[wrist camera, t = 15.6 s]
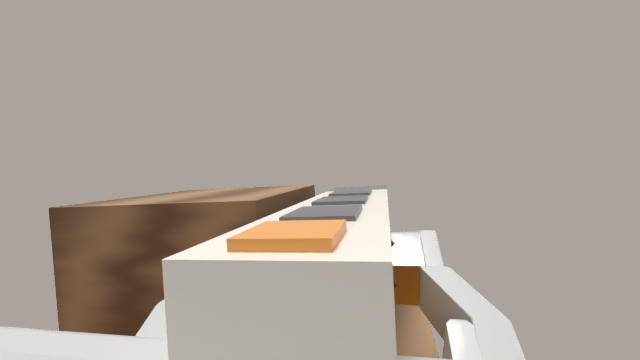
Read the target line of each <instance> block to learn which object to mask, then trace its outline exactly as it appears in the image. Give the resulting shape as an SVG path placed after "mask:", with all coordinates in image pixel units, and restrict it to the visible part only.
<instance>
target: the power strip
mask: <svg viewBox="0 0 640 360" xmlns="http://www.w3.org/2000/svg"><path fill="white" fill-rule="evenodd" d="M162 271H163V286H164V301H165V315H166V330H167V345H168V360H397V349H396V327H395V305H394V284H393V262H392V249H391V236H390V225H389V212H388V198H387V186H368V187H346V188H345V187H344V188H335V189H332V190H330V191H327V192H325V193H322V194H320V195H317V196H315V197H313V198H310V199H308V200H305V201H303V202H300V203H298V204H296V205H293V206H291V207H288V208H286V209H283V210H281V211H279V212H276V213H274V214H271V215H269V216H266V217H264V218H262V219H259V220H257V221H254V222H252V223H249V224H247V225H245V226H242V227H240V228H237V229H235V230H232V231H230V232H228V233H225V234H223V235H220V236H218V237H215V238H213V239H211V240H208V241H206V242H203V243H201V244H198V245H196V246H194V247H191V248H189V249H186V250H184V251H181V252H179V253H177V254H174V255H172V256H169V257H167V258H164V259H162Z"/></svg>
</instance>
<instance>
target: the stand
mask: <svg viewBox="0 0 640 360" xmlns="http://www.w3.org/2000/svg"><path fill="white" fill-rule="evenodd" d="M314 190H315V189H314V185H302V186H281V187H280V186H279V187H256V188H234V189H212V190H191V191H180V192H173V193H165V194H156V195H148V196H140V197H132V198H125V199H116V200H108V201H100V202H92V203H84V204H76V205H68V206H59V207H51V208H49V216H50V228H51V240H52V252H53V263H54V275H55V286H56V298H57V310H58V321H59V331H71V332H85V333H98V334H112V335H126V336H136V334H137V333H138V331H139V330H140V328H141V327H142V325H143V324H144V322H145V321H146V320H147V318H148V317H149V315H150V314H151V312H152V311H153V309H154V308H155V306H156V305H157V304H158V303H159V302H161V301H162V300H164V286H163V271H162V259H164V258H167V257H169V256H172V255H174V254H177V253H179V252H181V251H184V250H186V249H189V248H191V247H194V246H196V245H198V244H201V243H203V242H206V241H208V240H211V239H213V238H215V237H218V236H220V235H223V234H225V233H228V232H230V231H232V230H235V229H237V228H240V227H242V226H245V225H247V224H249V223H252V222H254V221H257V220H259V219H262V218H264V217H266V216H269V215H271V214H274V213H276V212H279V211H281V210H283V209H286V208H288V207H291V206H293V205H296V204H298V203H300V202H303V201H305V200H308V199H310V198H313V197H315V191H314ZM394 305H395V327H396V349H397V355H400V356H414V357H428V358H439V355H438V352H437V348H436V344H435V340H434V337H433V333H432V330H431V326H430V323H429V320H428V318H427V317H426V316H425V314H424V313H423V312H422V310H421V309H420V308H419V306H412V305H397V304H394Z"/></svg>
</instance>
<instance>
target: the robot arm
mask: <svg viewBox="0 0 640 360" xmlns="http://www.w3.org/2000/svg"><path fill="white" fill-rule="evenodd" d="M390 236H391V249H392V262H393V284H394V304H397V305H412V306H419V308H420V309H421V310H422V312H423V313H424V314H425V316H426V317H427V318H428V320H429V321H430V322H431V324H432V325H433V326H434V328H435V329H436V330H437V332H438V333H439V334H440V336H441V337H442V338H443V340H444V348H443V358H442V359H441V358H428V357H414V356H400V355H397V360H526V359H525V357H524V354H523V352H522V349H521V347H520V344H519V342H518V339H517V337H516V334H515V331H514V329H513V327H512V324H511V321H510V320H509V319H508V318H506V317H505V316H504V315H503V314H502V313H501V312H500V311H498V310H497V309H496V308H495V307H494V306H493V305H492V304H491V303H489V302H488V301H487V300H486V299H485V298H484V297H483V296H481V295H480V294H479V293H478V292H477V291H476V290H474V288H472V287H471V286H470V285H469V284H468V283H467V282H466V281H464V280H463V279H462V278H461V277H460V276H459V275H458V274H457V273H455V272H454V271H453V270H452V269H451V268H450V267H444V264H443V259H442V255H441V251H440V247H439V243H438V239H437V234H436V232H435V230H422V231H390ZM0 360H168V345H167V330H166V315H165V301H164V300H162V301H161V302H159V303H158V304H157V305H156V306H155V308H154V309H153V311H152V312H151V314H150V315H149V317H148V318H147V320H146V321H145V322H144V324H143V325H142V327H141V328H140V330H139V331H138V333H137V334H136V336H126V335H112V334H98V333H85V332H71V331H57V330H43V329H29V328H15V327H1V326H0Z"/></svg>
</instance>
